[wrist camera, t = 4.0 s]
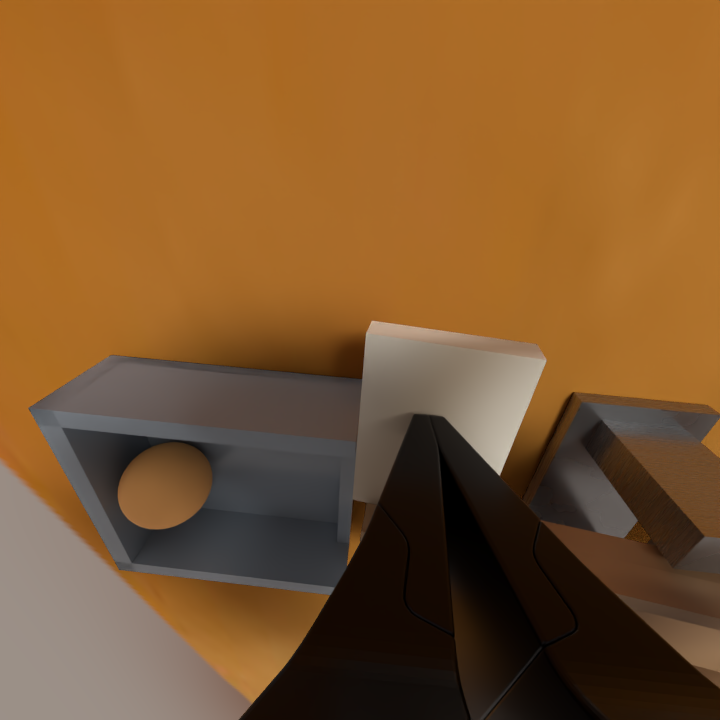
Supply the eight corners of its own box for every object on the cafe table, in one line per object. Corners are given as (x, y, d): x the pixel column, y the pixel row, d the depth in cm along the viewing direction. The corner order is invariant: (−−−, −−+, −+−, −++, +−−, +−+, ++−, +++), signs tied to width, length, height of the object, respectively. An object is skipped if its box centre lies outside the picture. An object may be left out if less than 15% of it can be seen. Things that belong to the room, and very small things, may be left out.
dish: (363, 379, 13) (355, 441, 10) (351, 523, 18) (343, 596, 14) (110, 354, 13) (28, 408, 10) (165, 503, 18) (119, 569, 15)
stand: (915, 424, 12) (1233, 574, 7) (740, 570, 17) (868, 713, 12) (379, 373, 13) (375, 482, 8) (362, 528, 18) (353, 648, 13)
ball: (77, 519, 12) (128, 450, 15) (157, 557, 13) (189, 487, 16) (135, 477, 11) (177, 413, 14) (215, 523, 12) (237, 456, 15)
